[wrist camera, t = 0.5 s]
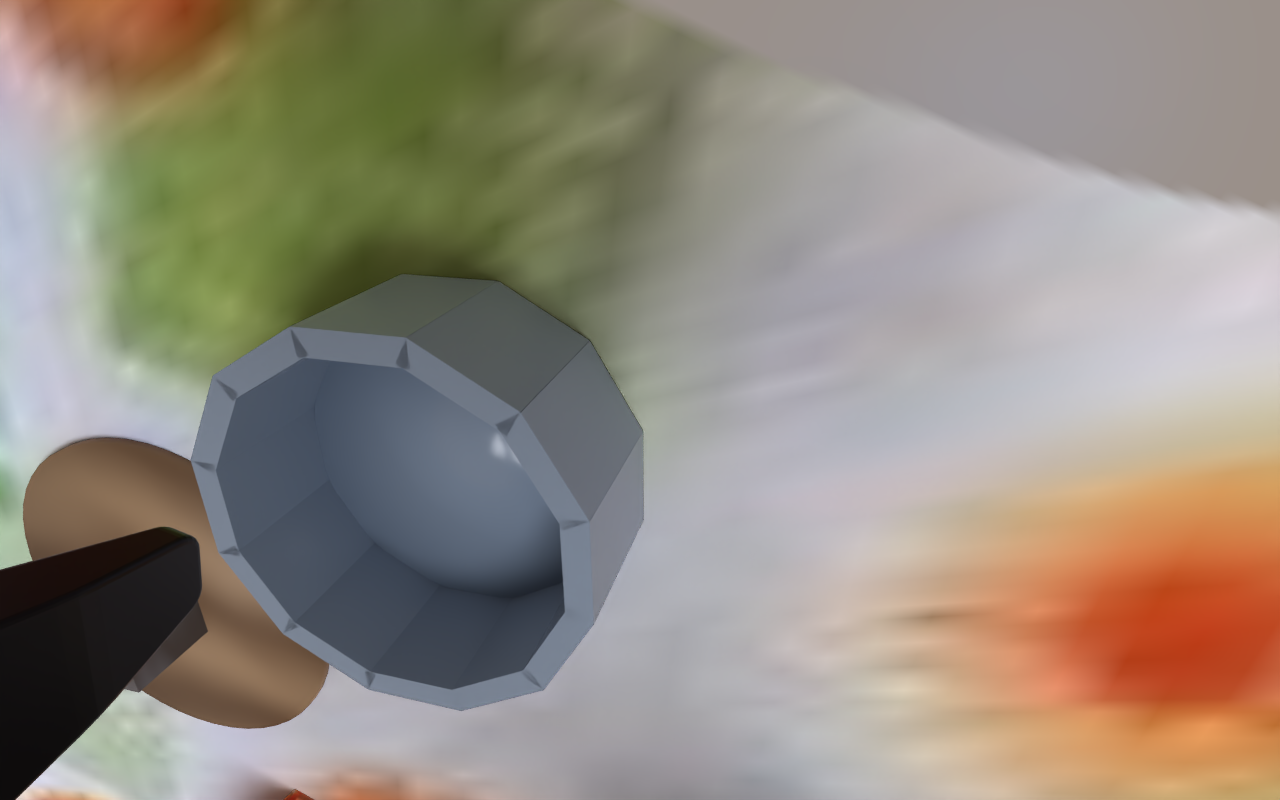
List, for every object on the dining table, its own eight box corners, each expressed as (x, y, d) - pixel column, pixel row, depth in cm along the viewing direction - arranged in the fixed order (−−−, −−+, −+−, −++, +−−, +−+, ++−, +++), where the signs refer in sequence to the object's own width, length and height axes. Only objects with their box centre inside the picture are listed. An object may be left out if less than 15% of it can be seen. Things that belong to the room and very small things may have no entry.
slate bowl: (644, 625, 26) (598, 742, 21) (344, 570, 29) (251, 662, 24) (642, 291, 21) (582, 354, 16) (279, 264, 24) (145, 312, 19)
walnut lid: (363, 744, 34) (300, 830, 30) (104, 680, 37) (20, 750, 34) (295, 458, 27) (205, 522, 24) (-9, 414, 31) (-129, 464, 27)
